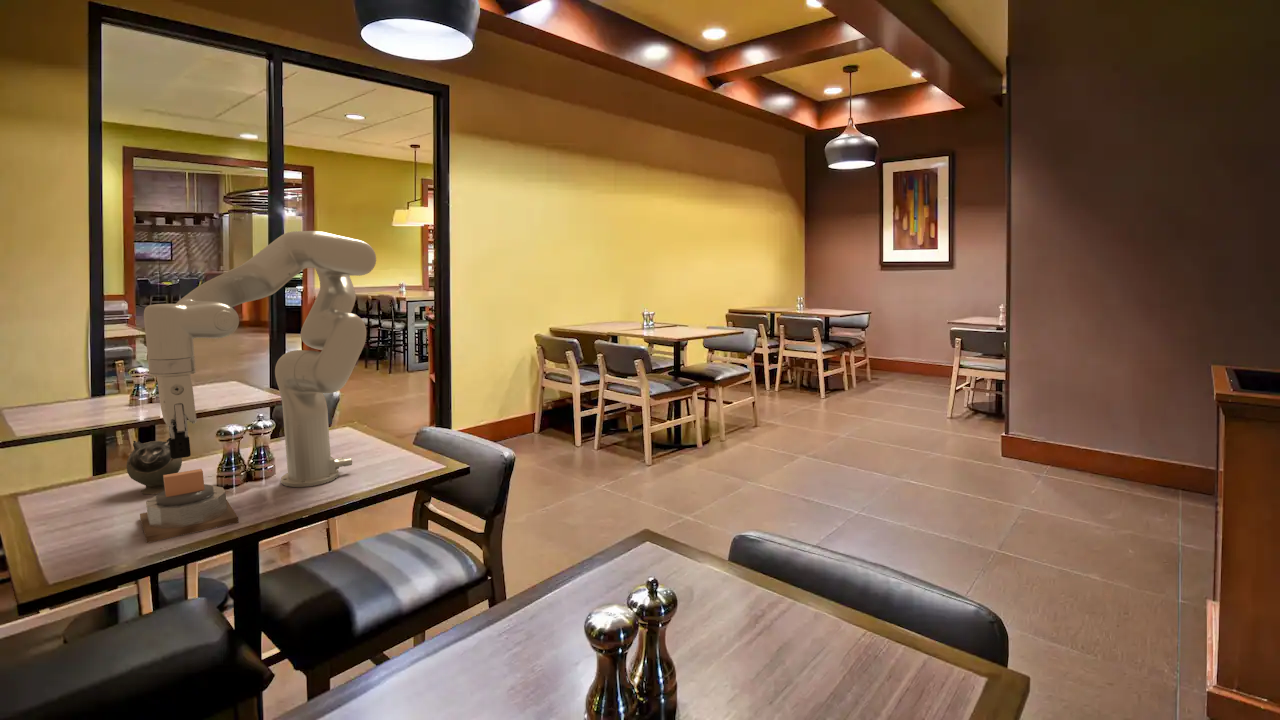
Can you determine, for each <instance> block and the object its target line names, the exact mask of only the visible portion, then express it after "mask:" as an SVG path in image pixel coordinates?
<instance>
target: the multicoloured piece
mask: <svg viewBox="0 0 1280 720" xmlns="http://www.w3.org/2000/svg"><path fill="white" fill-rule="evenodd" d="M163 478H164V487H165V491H163V492H161V493H159V494H156V495H157V496H156V495H155V496H156V502H157V503H158V504H160V505H168V506H171V505H182V504H188V503H193V502H197V501H200V500H203V499H206V498H208V497H210V496H211V495H213V493H214V490H213V486H214V485H210V484H206V483H205V480H204V479H205V478H204V471H203V469H202V468H199V469H192V470H187V471H186V470H185V471H181V472H180V471H179V472H178V473H173V474H167V475H163Z"/></svg>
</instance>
